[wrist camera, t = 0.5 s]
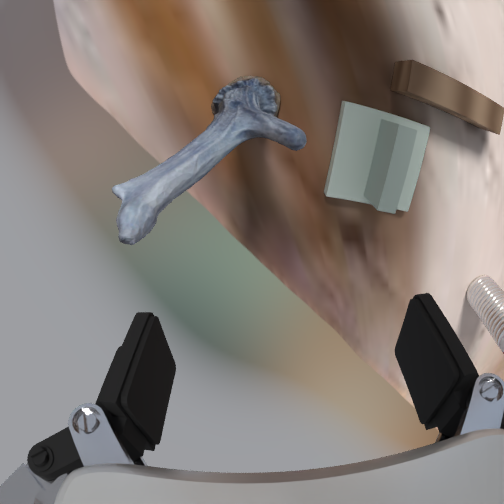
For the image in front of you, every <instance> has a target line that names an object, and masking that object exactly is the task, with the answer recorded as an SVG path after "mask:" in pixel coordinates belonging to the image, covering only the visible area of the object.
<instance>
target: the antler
mask: <svg viewBox="0 0 504 504" xmlns="http://www.w3.org/2000/svg"><path fill="white" fill-rule="evenodd" d="M279 103H280V95H279V93H277V91H276V90H275V89H274V88H273V86H272V85H270V82H269V81H266V80H265V79H264V78H262V77H257V76H256V77H252V76H244V77H240V78H237V80H235V81H232V82H231V83H229V84H228V85H227V86H225V87H223V88H222V89H221V90H219V93H218V94H217V96H216V97H215V98H214V99H213V103H212V104H211V105H212V106H211V107H212V113H213V114H214V120H213V121H212V122H211V124H210V125H209V126H208V127H207V129H206V130H205V131H204V132H203V133H202V134H200V135H199V136H198V137H197V138H195V139H194V140H193V141H192V142H190V143H189V144H188V145H186V146H185V147H184V148H183V149H181V150H180V151H179V152H178V153H176V154H175V155H173V156H172V157H170V158H168V159H167V160H166V161H165V162H163V163H161V164H160V165H158V166H157V167H155V168H153V169H151V170H149V171H148V172H146V173H145V174H143V175H140V176H139V177H137V178H132V179H130V180H129V181H128V182H125V183H122V184H119V185H115V186H114V187H113V188H112V191H113V193H114V194H115V195H116V196H117V197H118V198H120V199H121V200H122V205H121V208H120V210H119V212H118V216H117V219H116V221H117V226H118V229H119V240H120V242H122V243H124V244H130V245H133V244H135V243H136V242H138V241H140V240H141V239H142V238H144V237H145V236H146V235H147V234H148V233H149V232H150V231H151V230H152V228H153V227H154V226H155V224H156V221H157V216H158V214H159V213H160V212H161V211H162V210H163V209H164V208H165V207H166V206H167V205H168V204H169V203H171V202H172V200H173V199H175V198H176V197H178V196H179V195H180V194H182V193H183V192H184V191H186V190H187V189H189V188H190V187H191V186H193V185H194V184H195V183H196V182H198V181H199V180H200V179H201V178H203V177H204V176H205V175H206V174H207V173H208V172H209V171H210V170H211V169H212V168H213V167H214V166H215V165H216V164H217V163H219V162H220V161H221V160H222V159H223V158H224V157H225V156H226V155H227V154H229V153H230V152H231V151H232V150H233V149H234V148H235V147H237V146H238V145H239V144H241V143H242V142H244V141H246V140H249V139H252V138H255V137H263V138H268V139H270V140H273V141H276V142H278V143H279V144H282V145H284V146H286V147H288V148H290V149H292V150H296V151H297V150H300V149H302V148H303V147H304V146H305V144H306V142H307V141H306V135H305V133H304V132H303V131H302V130H301V129H299V128H298V127H296V126H294V125H292V124H290V123H288V122H286V121H283V120H281V119H278V118H277V113H278V111H279V110H278V109H279Z"/></svg>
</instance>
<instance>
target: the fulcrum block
mask: <svg viewBox="0 0 504 504" xmlns="http://www.w3.org/2000/svg"><path fill="white" fill-rule="evenodd" d="M429 132H430V127H428V126H425V125H423V124H420V123H417V122H414V121H411V120H409V119H406V118H403V117H399V116H396V115H393V114H390V113H387V112H383V111H380V110H377V109H373V108H370V107H366V106H362V105H359V104H355V103H351V102H347V101H342V104H341V109H340V115H339V120H338V126H337V131H336V136H335V141H334V146H333V151H332V156H331V161H330V166H329V171H328V175H327V180H326V184H325V189H324V193H325V195H326V196H328V197H334V198H340V199H345V200H351V201H356V202H362V203H367V204H372V205H373V206H374V207H375V208H376V210H378V211H383V212H388V213H393V214H395V212H396V209H397V210H402V211H407V212H408V210H409V206H410V203H411V200H412V197H413V193H414V190H415V187H416V183H417V180H418V176H419V172H420V169H421V165H422V161H423V157H424V153H425V149H426V145H427V141H428V136H429Z"/></svg>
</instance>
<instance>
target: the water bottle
mask: <svg viewBox="0 0 504 504" xmlns="http://www.w3.org/2000/svg"><path fill="white" fill-rule="evenodd" d="M466 297H467V301H468V303H469V304H470V306H471V307H472V309H473V310H474V311H475V313H476V314H477V315H478V317H479V318H480V320H481V321H482V322H483V324H484V325H485V327H486V328H487V330H488V331H489V333H490V335H491V336H492V338H493V339H494V341H495V342H496V344H497V345H498V347H500V349H501V350H502V352H503V354H504V291H503V290H502V289H501V288H500V287H499V286H498V285H497V283H496V282H495V281H494V280H493V279H492V278H491V277H490V276H488V275H482V276H479V277H478V278H476V279H475V280H474V281H473V282H472V283H471V285H470V286H469V288H468V291H467V295H466Z"/></svg>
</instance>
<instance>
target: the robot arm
mask: <svg viewBox="0 0 504 504" xmlns="http://www.w3.org/2000/svg"><path fill="white" fill-rule="evenodd" d="M395 356H396V358H397V361H398V363H399V366H400V368H401V371H402V374H403V376H404V379H405V381H406V384H407V387H408V389H409V392H410V395H411V397H412V400H413V403H414V406H415V409H416V411H417V414H418V417H419V420H420V422H421V423H422V424H425V428H426V430H428V429H431V428H435V427H438V430H439V435H438V437H437V439H436V442H435V443H434V444H430V445H427V446H424V447H420V448H417V449H413V450H410V451H406V452H402V453H399V454H395V455H391V456H386V457H382V458H378V459H373V460H368V461H363V462H358V463H352V464H347V465H340V466H334V467H326V468H319V469H310V470H300V471H287V472H268V473H220V472H200V471H187V470H176V469H166V468H158V467H151V466H147V464H146V463H145V461H144V459H143V458H142V456H143V453H144V450H151V451H154V449H155V445H156V444H159V443H160V440H161V436H162V431H163V426H164V421H165V416H166V411H167V407H168V403H169V398H170V394H171V389H172V385H173V380H174V376H175V371H176V365H175V361H174V359H173V356H172V354H171V351H170V348H169V346H168V343H167V340H166V338H165V335H164V332H163V330H162V327H161V324H160V321H159V319H158V317H157V316H154V315H153V313H150V312H146V313H144V312H143V313H142V312H141V313H136V315H135V317H134V319H133V321H132V324H131V326H130V328H129V330H128V333H127V335H126V338H125V340H124V342H123V344H122V346H120V347H119V348H118V350H117V351H116V354H115V356H114V359H113V361H112V363H111V366H110V368H109V371H108V373H107V376H106V378H105V381H104V383H103V386H102V388H101V391H100V393H99V396H98V399H97V401H96V404H92V403H86V404H83V405H80V406H78V407H77V408H75V409H74V410H73V412H72V413H71V415H70V417H69V422H68V424H69V427H67V428H65V429H63V430H61V431H60V432H58V433H56V434H55V435H52V436H51V437H49V438H47V439H45V440H43V441H41V442H39V443H37V444H36V445H34V446H33V447H32V448H31V450H30V451H29V454H28V459H27V461H28V463H27V464H26V465H25V464H24V463H23V464H22V465H21V466H20V467H19V468H18V469H17V470H16V471H15V472H14V473H13V474H12V475H11V476H10V477H9V478H8V479H7V480H6V481H5V482H4V483H3V484H2V485H1V486H0V504H504V382H503V380H502V379H501V378H500V377H499V376H497V375H495V374H492V373H484V374H482V375H480V376H479V375H478V373H477V370H476V368H475V366H474V365H473V363H472V361H471V359H470V357H469V356H468V354H467V352H466V350H465V349H464V347H463V345H462V344H461V342H460V340H459V339H458V337H457V335H456V334H455V332H454V330H453V329H452V327H451V325H450V324H449V322H448V321H447V319H446V317H445V316H444V314H443V313H442V311H441V310H440V308H439V307H438V305H437V304H436V302H435V300H434V299H433V297H432V296H431V295H430V294H429V293H425V294H418V295H415V296H414V297H413V299H411V300H410V302H409V305H408V309H407V312H406V315H405V319H404V322H403V325H402V328H401V332H400V335H399V338H398V341H397V344H396V347H395Z"/></svg>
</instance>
